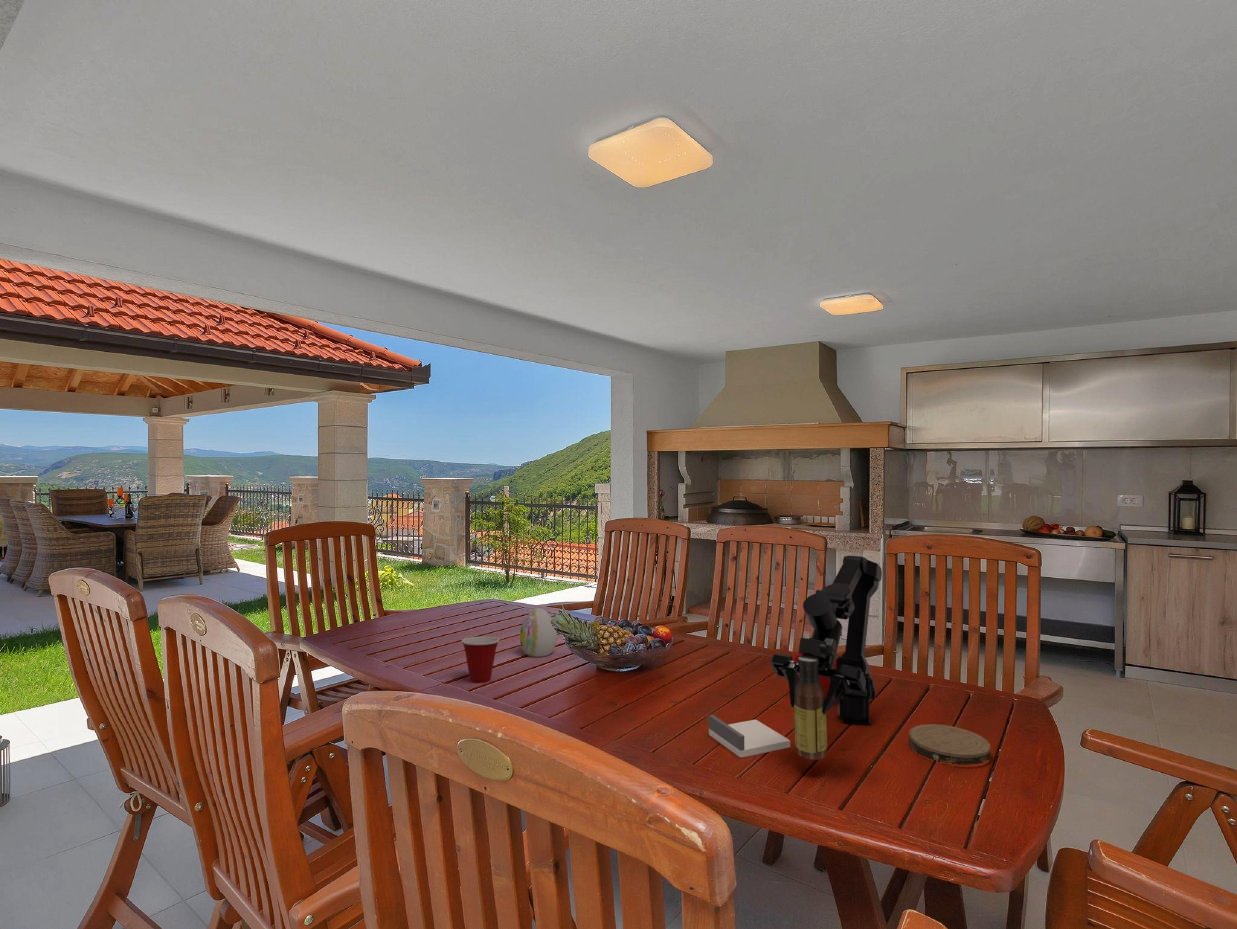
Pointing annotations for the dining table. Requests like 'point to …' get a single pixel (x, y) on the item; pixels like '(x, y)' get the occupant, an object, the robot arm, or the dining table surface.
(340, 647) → the dining table surface
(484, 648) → the plastic cup
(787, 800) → the dining table surface
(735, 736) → the display stand
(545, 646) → the decorative egg
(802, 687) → the sauce bottle
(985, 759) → the grey-brown flat disc
